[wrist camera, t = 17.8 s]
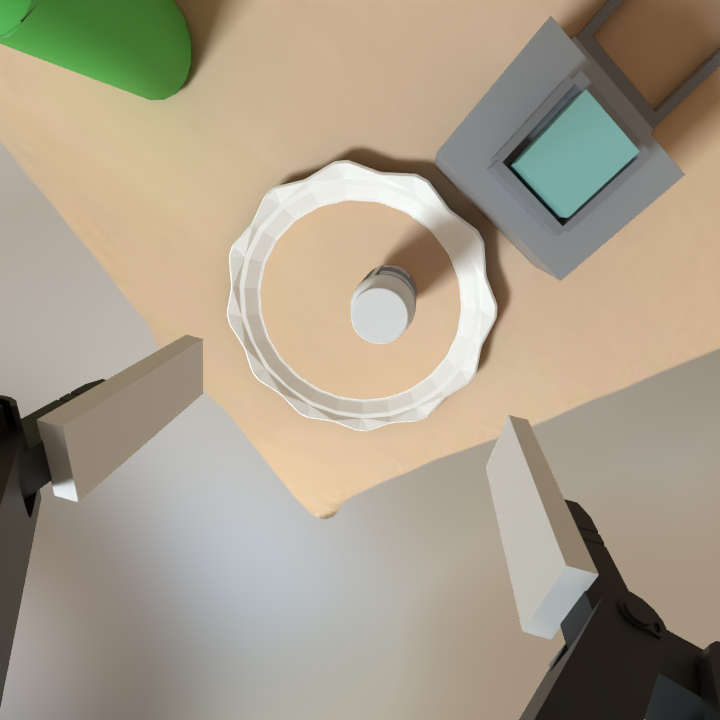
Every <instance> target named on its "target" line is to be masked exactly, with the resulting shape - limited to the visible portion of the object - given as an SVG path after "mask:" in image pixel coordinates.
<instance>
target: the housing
mask: <svg viewBox="0 0 720 720" xmlns="http://www.w3.org/2000/svg"><path fill="white" fill-rule="evenodd" d="M622 2H623V0H609V1H608V2H607V3H606V4H605V6H604V7H603V8H602V9H601V10H600V11H599V12H598V14H597V15H596V16H595V17H594V18H593V19H592V20H591V21H590V23H589V24H588V25H587V26H586V27H585V28H584V29H583V31H582V32H581V33H580V34H579V35H578V36H577V37H575V36H574V37H573V38H572V39H570V38H569V37H568V36H567V34H566V33H565V32H564V31H563V30H562V28H561V27H560V26H559V25H558V24H557V23H556V21H555V20H554V19H553V18H552V17H551V16H550V17H549V19H548V20H547V21H546V22H545V23H544V25H543V26H542V27H541V28H540V29H539V31H538V32H537V33H536V34H535V35H534V37H533V38H532V39H531V40H530V41H529V43H528V44H527V45H526V46H525V47H524V49H523V50H522V51H521V52H520V53H519V55H518V56H517V57H516V58H515V59H514V61H513V62H512V63H511V64H510V65H509V67H508V68H507V69H506V70H505V71H504V73H503V74H502V75H501V76H500V77H499V79H498V80H497V81H496V82H495V83H494V85H493V86H492V87H491V88H490V89H489V91H488V92H487V93H486V94H485V95H484V97H483V98H482V99H481V100H480V101H479V103H478V104H477V105H476V106H475V107H474V109H473V110H472V111H471V112H470V113H469V115H468V116H467V117H466V118H465V119H464V121H463V122H462V123H461V124H460V125H459V127H458V128H457V129H456V130H455V131H454V133H453V134H452V135H451V136H450V137H449V139H448V140H447V141H446V142H445V143H444V145H443V146H442V147H441V148H440V149H439V151H438V152H437V153H436V157H435V162H434V164H435V165H436V166H437V167H438V168H439V169H440V170H441V171H442V172H443V174H444V175H445V176H446V177H447V178H448V179H449V180H450V181H451V182H452V183H453V184H454V185H455V186H456V187H457V188H458V189H459V190H460V191H461V192H462V193H463V194H464V195H465V196H466V197H467V198H468V199H469V200H470V201H471V202H472V203H473V204H474V205H475V206H476V207H477V208H478V209H479V210H480V211H481V212H482V213H483V214H484V215H485V216H486V217H487V218H488V219H489V221H490V222H491V223H492V224H493V225H494V226H495V227H496V228H497V229H498V230H499V231H500V232H501V233H502V234H503V235H504V236H505V237H506V238H507V239H508V240H509V241H510V242H511V243H512V244H513V245H514V246H515V247H516V248H517V249H518V250H519V251H520V252H521V253H522V254H523V255H524V256H525V257H526V258H527V259H528V260H529V261H530V262H531V263H532V264H533V265H534V266H535V267H537V268H539V269H541V270H542V271H544V272H546V273H548V274H549V275H551V276H553V277H555V278H557V279H558V280H560V281H561V280H562V279H563V278H564V277H566V276H567V275H568V274H569V273H570V272H571V271H573V270H574V269H575V268H576V267H577V266H578V265H580V264H581V263H582V262H583V261H584V260H586V259H587V258H588V257H589V256H590V255H591V254H593V253H594V252H595V251H596V250H597V249H598V248H600V247H601V246H602V245H603V244H604V243H605V242H607V241H608V240H609V239H610V238H611V237H613V236H614V235H615V234H616V233H617V232H618V231H620V230H621V229H622V228H623V227H624V226H625V225H627V224H628V223H629V222H630V221H631V220H632V219H634V218H635V217H636V216H637V215H638V214H640V213H641V212H642V211H643V210H644V209H645V208H647V207H648V206H649V205H650V204H651V203H652V202H654V201H655V200H656V199H657V198H658V197H659V196H661V195H662V194H663V193H664V192H665V191H667V190H668V189H669V188H670V187H671V186H672V185H674V184H675V183H676V182H677V181H678V180H679V179H681V178H682V177H683V176H684V175H685V174H684V173H683V172H682V171H681V169H680V168H679V167H678V166H677V165H676V163H675V162H674V161H673V160H672V159H671V158H670V156H669V155H668V154H667V153H666V152H665V150H664V149H663V148H662V147H661V146H660V145H659V143H658V142H657V141H656V140H655V139H654V137H653V136H652V135H651V133H652V132H653V131H654V130H653V128H654V127H655V126H656V125H657V124H658V123H659V122H660V121H661V120H662V119H663V118H664V117H665V116H666V115H668V114H669V113H670V112H671V111H672V110H673V109H674V108H675V107H676V106H677V105H678V104H679V103H680V102H681V101H682V100H684V99H685V98H686V97H687V96H688V95H689V94H690V93H691V92H692V91H693V90H694V89H695V88H696V87H697V86H699V85H700V84H701V83H702V82H703V81H704V80H705V79H706V78H707V77H708V76H709V75H710V74H711V73H712V72H714V71H715V70H716V69H717V68H718V67H719V66H720V48H719V49H718V50H717V51H716V52H715V53H714V54H712V55H711V56H710V57H709V58H708V59H707V60H706V61H705V62H704V63H703V64H702V65H701V66H700V67H699V68H698V69H697V70H696V71H695V72H694V73H693V74H692V75H690V76H689V77H688V78H687V79H686V80H685V81H684V82H683V83H682V84H681V85H680V86H679V87H678V88H677V89H676V90H675V91H674V92H673V93H672V94H671V95H670V96H668V97H667V98H666V99H665V100H664V101H663V102H662V103H661V104H660V105H659V106H658V107H657V108H656V109H655V110H653V108H652V107H651V106H650V105H649V104H648V102H647V101H646V100H645V99H644V98H643V96H642V95H641V94H640V93H639V92H638V90H637V89H636V88H635V87H634V86H633V84H632V83H631V82H630V81H629V80H628V78H627V77H626V76H625V75H624V74H623V72H622V71H621V70H620V69H619V68H618V66H617V65H616V64H615V63H614V62H613V60H612V59H611V58H610V57H609V56H608V54H607V53H606V52H605V51H604V50H603V48H602V47H601V46H600V45H599V44H598V42H597V41H596V40H595V39H594V38H593V36H592V35H593V34H594V33H595V32H596V31H597V29H598V28H599V27H600V26H601V25H602V24H603V23H604V22H605V20H606V19H607V18H608V17H609V16H610V15H611V14H612V13H613V12H614V10H615V9H616V8H617V7H618V6H619V5H620V4H621V3H622ZM585 89H587V91H588V92H589V93H590V94H591V95H592V96H593V98H594V99H595V100H596V101H597V102H598V103H599V105H600V106H601V107H602V108H603V109H604V110H605V112H606V113H607V114H608V115H609V116H610V117H611V119H612V120H613V121H614V122H615V123H616V124H617V126H618V127H619V128H620V129H621V130H622V131H623V133H624V134H625V135H626V136H627V137H628V138H629V140H630V141H631V142H632V143H633V144H634V145H635V146H636V148H637V149H638V150H639V151H640V152H639V153H638V154H637V155H635V156H634V157H633V158H632V159H631V160H630V161H629V162H628V163H627V164H626V165H625V166H624V167H622V168H621V169H620V170H619V171H618V172H617V173H616V174H615V175H614V176H613V177H612V178H611V179H609V180H608V181H607V182H606V183H605V184H604V185H603V186H602V187H601V188H600V189H599V190H598V191H596V192H595V193H594V194H593V195H592V196H591V197H590V198H589V199H588V200H587V201H586V202H585V203H583V204H582V205H581V206H580V207H579V208H578V209H577V210H576V211H575V212H574V213H573V214H572V215H570V216H569V217H568V218H565V217H554V216H553V215H552V214H551V213H550V212H549V211H548V210H547V209H546V208H545V207H544V206H543V205H542V204H541V203H540V202H539V201H538V200H537V198H536V197H535V196H534V195H533V194H532V193H531V192H530V191H529V190H528V189H527V188H526V187H525V186H524V185H523V184H522V182H521V181H520V180H519V179H518V178H517V177H516V176H515V175H514V174H513V173H512V172H511V171H510V170H509V169H508V168H507V166H508V165H509V164H510V163H511V162H512V161H513V160H514V159H515V158H516V157H517V156H518V155H519V154H520V153H521V152H522V150H523V149H524V148H525V147H526V146H527V145H528V144H529V143H530V142H531V141H532V140H533V139H534V138H535V137H536V136H537V134H538V133H539V132H540V131H541V130H542V129H543V128H544V127H545V126H546V125H547V124H548V123H549V122H550V121H551V120H552V118H553V117H554V116H555V115H556V114H557V113H558V112H559V111H560V110H561V109H562V108H563V107H564V106H565V105H566V104H567V102H569V101H570V100H571V99H573V98H574V97H576V96H577V95H578V94H580V93H581V92H583V91H584V90H585Z"/></svg>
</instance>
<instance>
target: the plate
mask: <svg viewBox="0 0 720 720" xmlns="http://www.w3.org/2000/svg"><path fill="white" fill-rule="evenodd" d="M345 200H356V201H372V202H379V203H382V204H385V205H387V206H390V207H393V208H396V209H398V210H401V211H404V212H406V213H407V214H409V215H410V216H411V217H413V218H414V219H416V220H417V221H418V222H420V223H421V224H422V225H424V226H425V227H426V228H428V229H429V230H430V231H431V232H432V233H433V235H434V236H435V237H436V239H437V240H438V241H439V243H440V244H441V245H442V246H443V248H444V249H445V250H446V252H447V253H448V255H449V257H450V260H451V262H452V265H453V267H454V270H455V272H456V275H457V278H458V280H459V288H460V299H461V314H460V319H459V325H458V330H457V335H456V337H455V339H454V341H453V343H452V345H451V347H450V349H449V351H448V353H447V356H446V358H445V359H444V360H443V361H442V362H441V363H440V364H439V366H438V367H437V368H436V369H435V370H434V371H433V372H432V374H431V375H430V376H429V377H427V378H426V379H424V380H423V381H421V382H420V383H418V384H417V385H415V386H414V387H412V388H411V389H409V390H407V391H404V392H401V393H398V394H395V395H393V396H390V397H387V398H378V399H367V400H360V399H353V398H345V397H339V396H336V395H334V394H331V393H328V392H326V391H323V390H321V389H318V388H316V387H315V386H313V385H312V384H310V383H309V382H307V381H306V380H304V379H303V378H301V377H300V376H298V375H297V374H296V373H295V372H294V371H293V370H292V369H291V368H290V367H289V366H288V365H287V363H286V362H285V361H284V360H283V359H282V358H281V357H280V355H279V353H278V352H277V350H276V348H275V347H274V345H273V343H272V342H271V340H270V338H269V336H268V333H267V330H266V327H265V323H264V320H263V317H262V314H261V297H260V286H261V281H262V276H263V271H264V266H265V263H266V261H267V259H268V257H269V255H270V253H271V251H272V249H273V247H274V245H275V243H276V241H277V240H278V239H279V237H280V236H281V235H282V234H283V233H284V232H285V231H286V230H287V229H288V228H289V227H290V226H291V225H292V224H293V223H294V222H295V221H296V220H297V219H299V218H301V217H302V216H304V215H306V214H308V213H309V212H311V211H313V210H315V209H316V208H318V207H320V206H324V205H328V204H333V203H337V202H341V201H345ZM229 266H230V278H231V291H230V296H229V302H228V308H227V317H228V322H229V324H230V326H231V328H232V329H233V331H234V332H235V334H236V336H237V337H238V339H239V340H240V342H241V344H242V345H243V347H244V349H245V352H246V355H247V358H248V361H249V364H250V367H251V370H252V373H253V374H254V375H255V376H256V378H257V379H258V380H259V381H260V382H262V383H264V384H265V385H267V386H268V387H270V388H271V389H273V390H274V391H276V392H277V393H279V394H280V395H282V396H283V397H284V398H285V399H286V400H287V402H288V403H289V404H290V405H291V406H292V407H293V408H294V409H295V410H296V411H297V412H298V413H300V414H301V415H303V416H305V417H307V418H313V419H320V420H327V421H334V422H336V423H339V424H341V425H344V426H347V427H349V428H352V429H355V430H357V431H369V430H372V429H375V428H378V427H381V426H384V425H387V424H390V423H399V422H411V421H419V420H421V419H424V418H426V417H428V416H429V415H430V414H431V413H432V412H433V411H434V409H435V408H436V407H437V406H438V405H439V404H440V403H441V402H442V401H443V400H444V399H445V398H446V397H447V396H449V395H450V394H452V393H453V392H455V391H457V390H458V389H460V388H461V387H463V386H465V385H466V384H468V383H469V382H470V381H471V380H472V378H473V377H474V376H475V374H476V372H477V368H478V363H479V358H480V353H481V348H482V345H483V343H484V341H485V339H486V337H487V335H488V333H489V331H490V330H491V328H492V326H493V324H494V322H495V320H496V318H497V306H498V305H497V303H496V300H495V298H494V295H493V292H492V290H491V287H490V284H489V282H488V279H487V276H486V262H485V248H484V241H483V239H482V237H481V235H480V234H479V232H478V230H477V229H476V228H474V227H473V226H472V225H470V224H469V223H467V222H466V221H465V220H463V219H462V218H461V217H459V216H458V215H457V214H455V213H454V212H453V211H451V210H450V209H449V208H448V206H447V205H446V203H445V202H444V201H443V199H442V198H441V197H440V195H439V194H438V193H437V191H436V190H435V189H434V187H433V186H432V185H431V183H430V182H429V181H428V180H427V179H425V178H423V177H421V176H419V175H417V174H410V173H390V172H379V171H377V170H374V169H371V168H369V167H366V166H363V165H360V164H358V163H355V162H352V161H350V160H342V161H334V162H332V163H331V164H329V165H328V166H326V167H324V168H323V169H321V170H319V171H318V172H316V173H314V174H313V175H311V176H310V177H308V178H306V179H304V180H300V181H296V182H291V183H287V184H283V185H279V186H275V187H274V188H272V189H271V190H270V191H269V192H268V193H266V194H265V196H264V198H263V200H262V202H261V204H260V206H259V208H258V211H257V213H256V215H255V217H254V219H253V221H252V223H251V225H250V226H249V227H248V228H247V229H246V230H245V231H244V233H243V234H242V235H241V236H240V237H239V238H238V239H237V240H236V241H235V243H234V244H233V245H232V247H231V250H230V254H229Z"/></svg>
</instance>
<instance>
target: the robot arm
mask: <svg viewBox="0 0 720 720" xmlns="http://www.w3.org/2000/svg"><path fill="white" fill-rule="evenodd" d="M202 394H203V339H201V338H197V337H193V336H189V335H185V336H183V337H181V338H180V339H178V340H176V341H174V342H173V343H171V344H169V345H167V346H166V347H164V348H162V349H160V350H159V351H157V352H155V353H153V354H152V355H150V356H148V357H146V358H145V359H143V360H141V361H139V362H137V363H136V364H134V365H132V366H130V367H129V368H127V369H125V370H123V371H122V372H120V373H118V374H117V375H114V376H113V377H111V378H109V379H107V380H104V379H101V380H98V381H94V382H91V383H88V384H85V385H83V386H81V387H79V388H77V389H76V390H74V391H72V392H71V394H69V393H68V394H66V395H65V396H63V397H61V398H60V399H59V400H55V401H54V402H52V403H50V404H48V405H46V406H44V407H43V408H41V409H39V410H37V411H35V412H33V413H31V414H30V415H28V416H26V417H24V418H22V419H21V418H20V414H19V410H18V406H17V402H16V400H14V399H13V398H11V397H7V396H2V395H0V706H1V701H2V696H3V690H4V685H5V680H6V675H7V670H8V665H9V660H10V655H11V649H12V644H13V639H14V634H15V629H16V624H17V619H18V614H19V609H20V604H21V599H22V593H23V588H24V583H25V577H26V573H27V568H28V563H29V557H30V553H31V548H32V542H33V537H34V532H35V527H36V522H37V517H38V512H39V507H40V501H41V494H40V490H39V489H40V488H41V487H43V486H44V485H46V484H47V483H48V482H50V481H51V482H52V486H53V490H54V494H55V496H59V497H63V498H66V499H69V500H73V501H76V502H79V501H80V500H81V499H82V498H83V497H85V496H86V495H87V494H88V493H89V492H90V491H91V490H93V489H94V488H95V487H96V486H97V485H98V484H100V483H101V482H102V481H103V480H104V479H105V478H106V477H108V476H109V475H110V474H111V473H112V472H113V471H114V470H116V469H117V468H118V467H119V466H120V465H121V464H122V463H124V462H125V461H126V460H127V459H128V458H129V457H130V456H132V455H133V454H134V453H135V452H136V451H137V450H139V449H140V448H141V447H142V446H143V445H144V444H145V443H147V442H148V441H149V440H150V439H151V438H152V437H153V436H155V435H156V434H157V433H158V432H159V431H160V430H161V429H162V428H164V427H165V426H166V425H167V424H168V423H169V422H171V421H172V420H173V419H174V418H175V417H176V416H178V414H180V413H181V412H182V411H183V410H184V409H186V408H187V407H188V406H189V405H190V404H191V403H192V402H194V401H195V400H196V399H197V398H198V397H199V396H200V395H202ZM486 470H487V475H488V479H489V484H490V488H491V493H492V497H493V502H494V506H495V511H496V515H497V519H498V524H499V529H500V533H501V538H502V542H503V547H504V551H505V556H506V560H507V565H508V569H509V573H510V578H511V582H512V587H513V592H514V595H515V601H516V605H517V609H518V614H519V619H520V623H521V627H522V631H523V632H527V633H530V634H534V635H537V636H541V637H544V638H548V639H552V637H553V636H554V634H555V633H556V632H557V630H558V629H559V628H560V626H561V629H562V632H563V636H564V639H565V642H566V644H565V645H564V646H563V648H562V649H561V650H560V651H559V653H558V654H557V655H556V656H555V658H554V659H553V660H552V662H551V663H550V664H549V666H550V669H549V670H548V672H547V674H546V675H545V677H544V679H543V680H542V682H541V684H540V685H539V687H538V689H537V690H536V692H535V694H534V696H533V697H532V699H531V701H530V702H529V704H528V706H527V707H526V709H525V711H524V712H523V714H522V716H521V718H520V719H519V720H644V719H645V720H720V642H718V641H716V642H714V643H712V644H710V645H709V646H708V647H707V648H705V649H704V650H703V649H701V648H699V647H697V646H695V645H693V644H692V643H690V642H688V641H686V640H684V639H682V638H681V637H678V636H677V635H675V634H673V633H671V632H670V631H668V630H666V627H665V625H664V623H663V621H662V619H661V618H660V617H659V616H658V614H657V613H656V612H655V610H654V609H653V608H651V607H650V606H649V605H648V604H647V603H646V602H645V601H644V600H643V599H641V598H639V597H638V596H636V595H635V594H633V593H632V592H630V591H628V589H627V587H626V585H625V583H624V581H623V579H622V577H621V575H620V573H619V571H618V569H617V567H616V566H615V563H614V562H613V560H612V558H611V556H610V554H609V552H608V550H607V548H606V547H604V542H603V540H602V538H601V536H600V535H599V534H598V531H597V529H596V527H595V525H594V523H593V521H592V519H591V517H590V516H589V515H588V514H587V513H586V512H585V510H584V509H583V508H582V507H581V506H580V505H579V504H578V503H576V502H573V501H568V500H565V499H564V498H563V496H562V493H561V491H560V489H559V487H558V485H557V483H556V480H555V478H554V476H553V474H552V472H551V470H550V468H549V465H548V463H547V461H546V459H545V457H544V454H543V452H542V450H541V448H540V446H539V443H538V441H537V439H536V437H535V435H534V433H533V430H532V428H531V426H530V424H529V422H528V420H526V419H522V418H518V417H514V416H510V415H508V418H507V420H506V422H505V425H504V427H503V429H502V431H501V434H500V436H499V438H498V440H497V443H496V445H495V447H494V450H493V452H492V454H491V456H490V459H489V461H488V463H487V465H486Z"/></svg>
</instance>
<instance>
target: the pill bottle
mask: <svg viewBox="0 0 720 720" xmlns="http://www.w3.org/2000/svg"><path fill="white" fill-rule="evenodd" d="M416 296H417V290H416V284H415V281H414V279H413V278H412V276H411V275H410V274H409V273H408V272H407V271H406V270H405V269H403V268H402V267H400V266H397V265H382V266H379V267H377V268H375V269H373V270H372V271H371V272H370V273H369V274H368V275H367V276H366V277H365V278H364V280H363V281H362V282H361V283H360V284H359V285H358V287H357V288H356V290H355V291H354V294H353V296H352V300H351V321H352V325H353V327H354V329H355V331H356V332H357V333H358V334H359V335H360V336H361V337H362V338H363V339H365V340H367V341H369V342H371V343H375V344H385V343H389V342H392V341H394V340H396V339H397V338H398V337H399V336H401V334H402V333H403V332H404V331H405V330H406V329H407V328H408V326H409V325H410V324H411V322H412V320H413V317H414V314H415V309H416Z"/></svg>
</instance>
